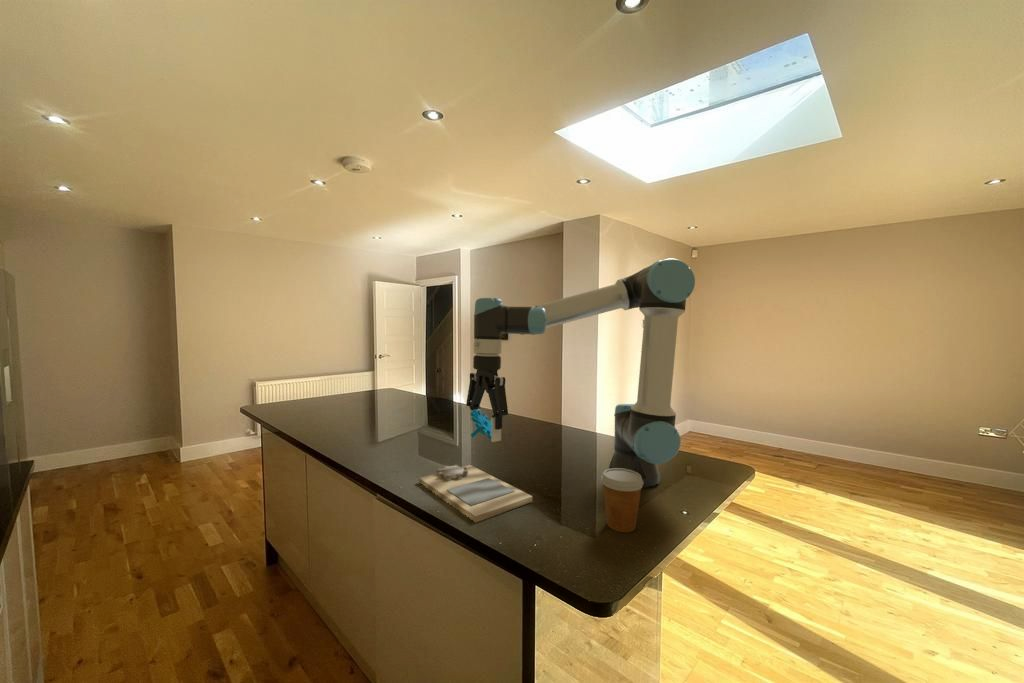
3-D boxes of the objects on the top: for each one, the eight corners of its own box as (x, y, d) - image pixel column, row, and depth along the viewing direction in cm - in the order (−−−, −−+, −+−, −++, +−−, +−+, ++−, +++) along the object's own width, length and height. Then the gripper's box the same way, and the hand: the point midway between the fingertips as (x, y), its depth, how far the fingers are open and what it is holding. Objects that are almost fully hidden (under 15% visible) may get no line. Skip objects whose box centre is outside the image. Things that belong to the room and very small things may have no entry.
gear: (491, 438, 97) (468, 408, 100) (475, 453, 98) (453, 422, 101) (506, 434, 107) (485, 406, 110) (491, 447, 108) (470, 420, 111)
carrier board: (532, 501, 100) (532, 490, 100) (475, 522, 89) (475, 510, 89) (469, 469, 124) (469, 459, 124) (418, 482, 113) (418, 472, 112)
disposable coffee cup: (651, 533, 85) (652, 480, 85) (614, 539, 82) (615, 484, 82) (627, 513, 94) (628, 465, 94) (592, 518, 91) (593, 469, 91)
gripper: (455, 352, 110) (453, 430, 110) (500, 357, 93) (498, 449, 93) (476, 352, 114) (475, 426, 115) (523, 357, 97) (521, 444, 98)
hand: (485, 436), depth 104 cm, fingers closed on gear, 9 cm apart
